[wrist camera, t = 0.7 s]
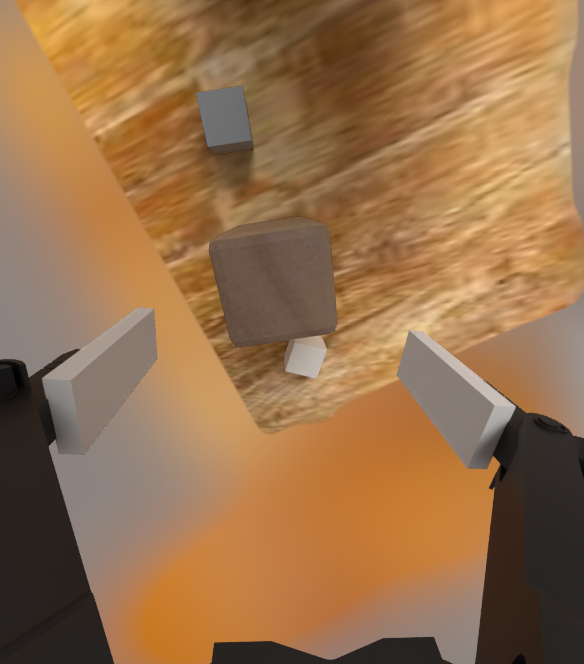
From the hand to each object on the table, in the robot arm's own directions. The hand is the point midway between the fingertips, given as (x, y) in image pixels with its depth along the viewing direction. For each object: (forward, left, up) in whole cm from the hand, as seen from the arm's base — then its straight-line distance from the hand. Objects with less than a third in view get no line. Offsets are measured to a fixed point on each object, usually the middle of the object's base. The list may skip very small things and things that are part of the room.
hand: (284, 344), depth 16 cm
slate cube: (-15, -7, -30) cm, 35 cm away
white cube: (+14, +6, -30) cm, 34 cm away
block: (0, 0, -31) cm, 31 cm away
